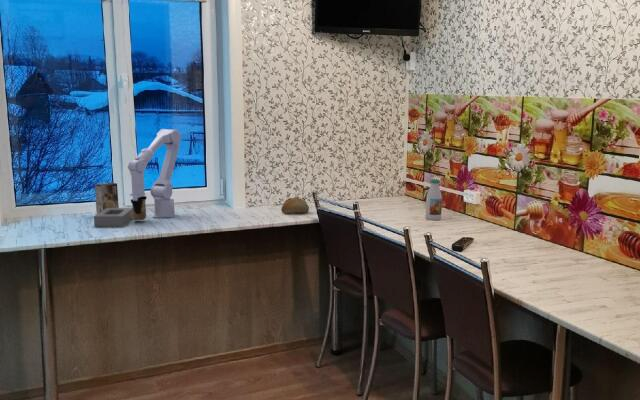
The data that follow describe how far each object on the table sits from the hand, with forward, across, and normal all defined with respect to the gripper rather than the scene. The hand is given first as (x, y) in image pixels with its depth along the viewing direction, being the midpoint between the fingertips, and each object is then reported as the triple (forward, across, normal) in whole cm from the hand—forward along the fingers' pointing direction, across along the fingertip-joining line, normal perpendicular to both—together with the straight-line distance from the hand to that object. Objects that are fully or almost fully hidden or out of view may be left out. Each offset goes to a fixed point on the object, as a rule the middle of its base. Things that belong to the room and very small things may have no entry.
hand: (139, 212), depth 280 cm
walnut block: (+3, 0, 0) cm, 3 cm away
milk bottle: (+5, -1, +144) cm, 144 cm away
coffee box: (+5, -16, -20) cm, 26 cm away
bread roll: (+5, -18, +76) cm, 78 cm away
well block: (+4, +1, -12) cm, 12 cm away
